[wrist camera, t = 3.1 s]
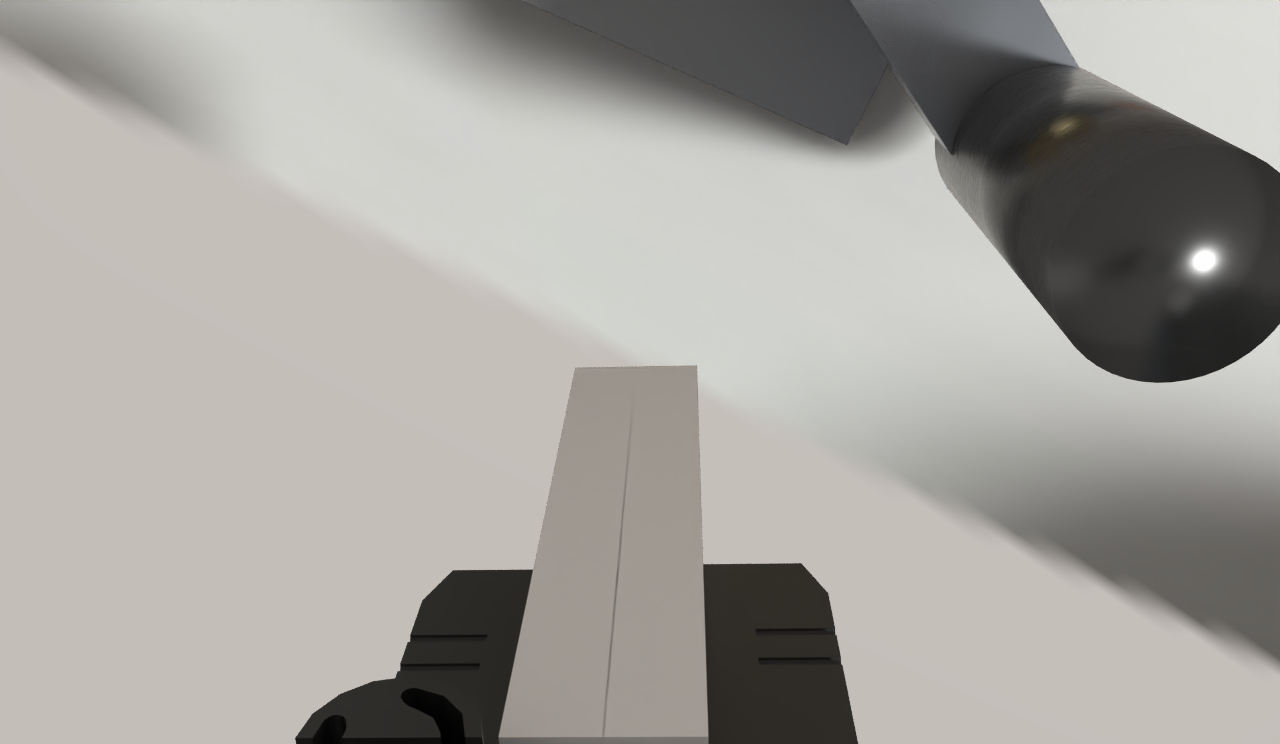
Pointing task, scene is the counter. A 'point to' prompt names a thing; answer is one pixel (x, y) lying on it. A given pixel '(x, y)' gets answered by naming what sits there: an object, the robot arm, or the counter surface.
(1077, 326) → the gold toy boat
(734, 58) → the base
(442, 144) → the counter surface
